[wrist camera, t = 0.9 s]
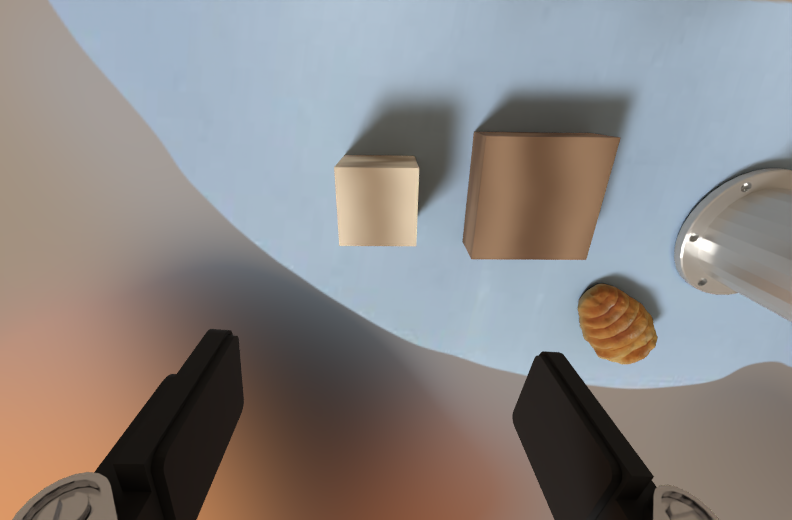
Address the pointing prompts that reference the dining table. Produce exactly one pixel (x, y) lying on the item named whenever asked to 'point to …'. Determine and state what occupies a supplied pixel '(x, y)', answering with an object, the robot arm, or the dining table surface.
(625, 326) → the pastry
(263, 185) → the dining table surface
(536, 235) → the walnut base
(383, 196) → the maple cube
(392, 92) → the dining table surface
